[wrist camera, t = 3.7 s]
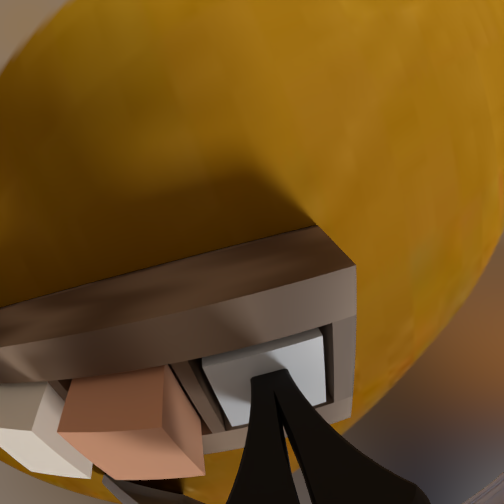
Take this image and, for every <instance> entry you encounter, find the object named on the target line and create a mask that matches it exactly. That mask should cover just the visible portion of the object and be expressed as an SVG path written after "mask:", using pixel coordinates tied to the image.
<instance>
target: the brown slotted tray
mask: <svg viewBox="0 0 504 504" xmlns="http://www.w3.org/2000/svg"><path fill="white" fill-rule="evenodd" d="M317 327H318V328H319V330H320V332H321V334H322V336H323V350H324V367H325V387H326V402H324V403H321V404H318V405H314V406H313V407H314V408H315V410H316V411H317V412H318V413H319V414H320V415H321V416H322V417H323V419H324V420H325V421H326V422H327V423H328V424H332V423H335V422H338V421H341V420H343V419H346V418H349V417H351V408H352V397H353V384H354V368H355V348H356V265H355V264H354V263H353V262H352V260H351V259H350V258H349V257H348V256H347V255H346V254H345V253H344V252H343V251H342V250H341V249H340V248H339V247H338V246H337V245H336V244H335V243H334V242H333V241H332V240H331V239H330V238H329V236H328V235H327V234H326V233H325V232H324V231H323V230H322V229H321V228H320V227H319V226H318V225H314V226H310V227H306V228H302V229H298V230H294V231H290V232H286V233H282V234H278V235H274V236H270V237H266V238H262V239H258V240H254V241H250V242H246V243H242V244H239V245H235V246H231V247H227V248H223V249H219V250H215V251H211V252H207V253H203V254H199V255H196V256H192V257H188V258H184V259H180V260H176V261H172V262H169V263H165V264H161V265H157V266H153V267H149V268H146V269H142V270H138V271H134V272H130V273H127V274H123V275H119V276H115V277H112V278H108V279H104V280H100V281H97V282H93V283H89V284H85V285H82V286H78V287H74V288H71V289H67V290H63V291H60V292H56V293H52V294H49V295H45V296H41V297H38V298H34V299H30V300H27V301H23V302H19V303H16V304H12V305H9V306H5V307H2V308H0V384H8V383H27V382H41V381H47V382H48V383H49V384H50V385H51V386H52V388H53V389H54V390H55V391H56V392H57V394H58V395H59V396H60V397H61V398H62V399H63V400H64V402H65V401H66V397H67V394H68V391H69V388H70V384H71V381H72V379H74V378H83V377H91V376H99V375H106V374H113V373H120V372H127V371H133V370H139V369H145V368H151V367H157V366H162V365H167V364H168V366H169V367H170V369H171V371H172V373H173V374H174V376H175V378H176V380H177V381H178V383H179V385H180V387H181V388H182V390H183V392H184V393H185V395H186V397H187V398H188V400H189V401H190V403H191V405H192V406H193V408H194V409H195V411H196V413H197V414H198V416H199V417H200V419H201V432H202V444H203V454H210V453H216V452H222V451H228V450H233V449H239V448H244V446H245V441H246V436H247V431H248V424H249V423H247V424H243V425H238V426H233V427H232V425H231V423H230V422H229V420H228V418H227V416H226V414H225V412H224V410H223V408H222V406H221V404H220V402H219V400H218V398H217V396H216V394H215V392H214V390H213V388H212V386H211V384H210V382H209V380H208V378H207V376H206V374H205V372H204V370H203V368H202V357H207V356H211V355H216V354H220V353H224V352H228V351H233V350H237V349H241V348H245V347H249V346H253V345H257V344H261V343H264V342H268V341H272V340H276V339H279V338H283V337H286V336H290V335H293V334H297V333H300V332H304V331H307V330H310V329H314V328H317ZM283 429H284V427H283ZM284 435H285V438H286V437H287V434H286V432H285V429H284Z"/></svg>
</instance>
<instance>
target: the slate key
mask: <svg viewBox="0 0 504 504" xmlns="http://www.w3.org/2000/svg"><path fill="white" fill-rule="evenodd" d="M202 368H203V370H204V372H205V374H206V376H207V378H208V380H209V382H210V384H211V386H212V388H213V390H214V392H215V394H216V396H217V398H218V400H219V402H220V404H221V406H222V408H223V410H224V412H225V414H226V416H227V418H228V420H229V422H230V423H231V425H232V427H233V426H238V425H243V424H247V423H249V416H250V406H251V382H250V379H251V378H252V377H254V376H258V375H262V374H266V373H270V372H273V371H277V370H281V369H284V368H285V369H288V371H289V373H290V375H291V377H292V379H293V380H294V382H295V383H296V385H297V386H298V388H299V389H300V391H301V392H302V394H303V395H304V396H305V398H306V399H307V400H308V401H309V403H310V404H311V405H312V406H314V405H318V404H321V403H324V402H326V387H325V367H324V350H323V336H322V334H321V332H320V330H319V328H318V327H317V328H314V329H310V330H307V331H304V332H300V333H297V334H293V335H290V336H286V337H283V338H279V339H276V340H272V341H268V342H264V343H261V344H257V345H253V346H249V347H245V348H241V349H237V350H233V351H228V352H224V353H220V354H216V355H211V356H207V357H202Z"/></svg>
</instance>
